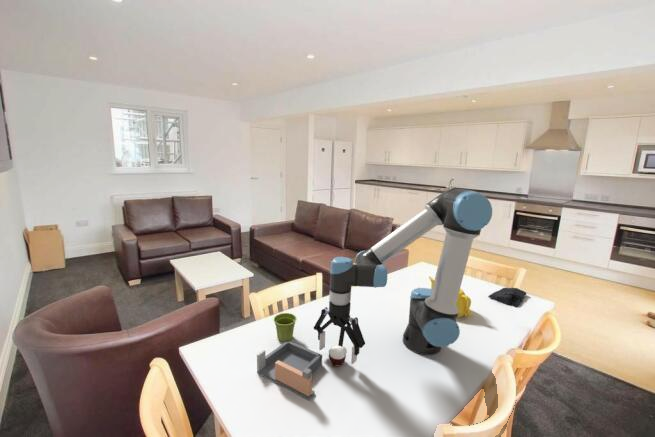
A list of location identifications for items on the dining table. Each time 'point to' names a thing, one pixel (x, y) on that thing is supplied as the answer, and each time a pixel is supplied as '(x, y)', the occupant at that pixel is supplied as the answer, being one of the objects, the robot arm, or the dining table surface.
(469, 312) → the teapot
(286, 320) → the plant pot
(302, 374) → the cover
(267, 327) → the dining table surface
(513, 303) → the dark slate chunk
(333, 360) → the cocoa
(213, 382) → the dining table surface
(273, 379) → the box
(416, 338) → the robot arm
